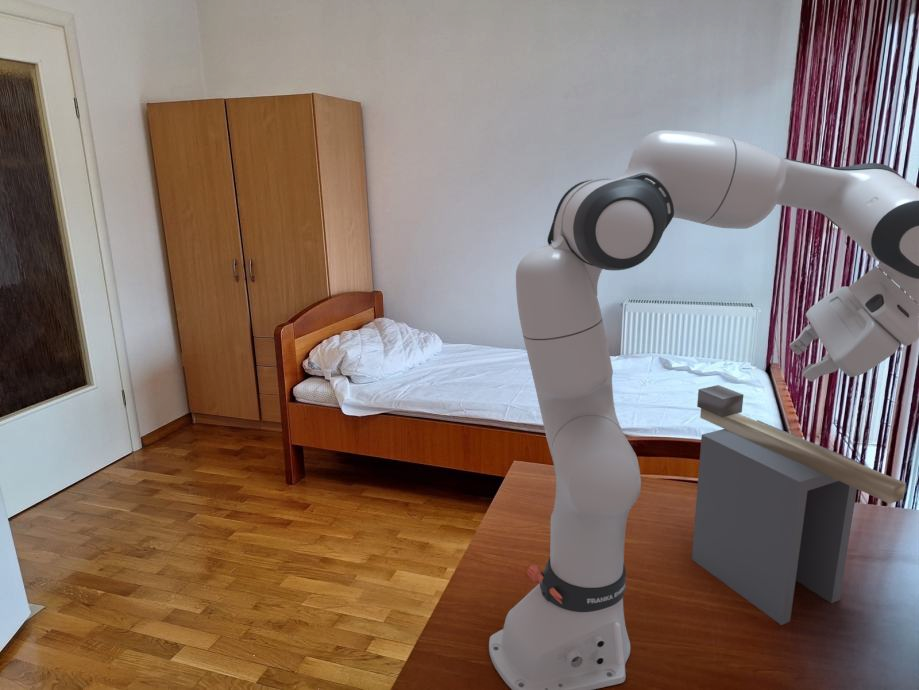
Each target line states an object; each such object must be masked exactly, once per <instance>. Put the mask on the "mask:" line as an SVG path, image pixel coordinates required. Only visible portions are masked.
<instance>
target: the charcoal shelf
mask: <svg viewBox="0 0 919 690" xmlns="http://www.w3.org/2000/svg"><path fill="white" fill-rule="evenodd" d="M756 421H758V422H760V423H762V424H765V425H767V426H770V427H772V428H775V429H777V430H779V431H782V432H784V433H787V434H789V435H791V436H794V437H796V438H799V439H801V440H803V441H806V442H808V443H811V444H813V445H815V446H818V447H820V448H823V449H825V450H827V451H830V452H832V453H835V454H837V455H839V456H842V457H844V458H847V459H849V460H852V461H854V462H856V463H859V464H861V465H862V462H860V461H858V460H855V459H853V458H850V457H847V456H846V455H843V454H841V453H838V452H835V451H833V450H831V449H829V448H826V447H824V446H821V445H819V444H818V443H814V442H812V441H809V440H807V439H805V438H802V437H800V436H797V435H795V434H792V433H790V432H788V431H785V430H783V429H780V428H777V427H775V426H773V425H770V424H769V423H766V422H763V421H761V420H756ZM700 439H701V440H700V452H699V465H698V476H697V477H698V478H697V487H696V501H695V502H696V503H695V511H694V512H695V513H694V529H693V540H692V549H691V550H692V551H691V560H692V561H693V562H695V563H696V564H697V565H699V566H700V567H701V568H702V569H704V570H705V571H707V572H708V573H709V574H711V575H712V576H713V577H715V578H716V579H718V580H719V581H720V582H722V584H725V585H726V586H728V588H730V589H732V590H733V591H734V592H735V593H737V594H738V595H740V596H741V597H742V598H744V600H746V601H748V602H749V603H750V604H752V606H755V607H756V608H757V609H758V610H760V611H761V612H762V613H764V614H765V615H767V616H768V617H769V618H771V619H772V620H774V621H775V622H777V623H778V624H779V625H780V626H783V625H785V624H787V623H790V622H791V617H792V610H793V603H794V595H795V587H796V582H797V583H799V584H800V585H803V586H804V587H805V588H807V589H808V590H810V591H812V592H813V593H815V594H816V595H818V596H819V597H820V598H822V599H823V600H826V601H827V602H829V603H830V604H834V603H835V602H839V601H840V597H841V592H842V585H843V579H844V573H845V568H846V567H845V566H846V559H847V554H848V546H849V542H850V535H851V529H852V523H853V515H854V509H855V505H856V496H857V490H858V489H856V488H854V487H852V486H849V485H847V484H845V483H843V482H841V481H838V480H836V479H834V478H832V477H830V476H827V475H825V474H823V473H821V472H819V471H816V470H814V469H812V468H810V467H808V466H805V465H803V464H801V463H799V462H797V461H794V460H792V459H790V458H788V457H786V456H783V455H781V454H779V453H777V452H774V451H772V450H770V449H768V448H766V447H763V446H761V445H759V444H757V443H755V442H752V441H750V440H748V439H746V438H744V437H741V436H739V435H737V434H735V433H733V432H730V431H728V430H726V429H724V428H722V429H718V430H714V431H711V432H707V433H703V434H701V437H700Z"/></svg>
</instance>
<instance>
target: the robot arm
mask: <svg viewBox="0 0 919 690" xmlns="http://www.w3.org/2000/svg"><path fill="white" fill-rule="evenodd" d="M557 204H558V205H557V206H556V209H555V213H554V216H553V220H552V223H551V227H550V230H549V232H548V236H547V245H544V246H541V247H538V248H536V249H534V250H533V251H530V252H529V253H528V254H526V255H525V256H524V257H523V258H522V259H521V260H520V261H519V263H518V265H517V267H516V271H515V289H516V291H515V292H516V301H517V310H518V317H519V322H520V326H521V327H520V328H521V331H522V333H521V334H522V337H523V341H524V345H525V350H526V354H527V358H528V361H529V362H528V363H529V366H530V371H531V375H532V379H533V383H534V387H535V392H536V396H537V401H538V405H539V409H540V410H539V411H540V415H541V420H542V423H543V428H544V432H545V437H546V441H547V444H548V448H549V453H550V455H551V459H552V463H553V469H554V474H555V496H554V497H555V498H554V506H553V510H552V512H551V515H550V538H549V539H550V544H549V545H550V547H549V549H550V551H549V552H550V553H549V555H550V556H549V558H548V561H547V563H546V565H545V567H544V569H543V570H541V568H540V567H539V565H537V564H531V565H530V566H529V567H528V569H527V572H526V573H527V575H528V577H529V578H531V579H532V581H533V582H534V583H538V584H537V585H536V586H535V587H533V588H532V589H531V590H530V591H529V592H528V593H527V594H526V595H525V596H524V597H523V598H522V599H521V600H520V601H519V602H517V603H516V604H515V605H514V607H512V608H511V609H510V610H509V611H508V612H507V615H506V617H505V621H504V625H503V628H502V629H501V630H500V629H499V630H498V631H496V632H495V633H493V634H492V635H490V636H489V641H488V652H489V656H490V660H491V662H492V665H493V667H494V668H495V670H496V671H497V673H498V675H499V676H500V677H501V678H502V680H503V681H504V683H505V684H506V685H507V686H508V687H509V688H510V689H511V690H596V689H597V690H598V689H601V688H605V687H611V686H615V685H619V684H622V683H624V682H625V681H626V664H627V661H628V659H629V657H630V654H631V642H630V639H629V638H630V637H629V634H628V631H627V627H626V621H625V614H624V613H625V612H624V596H625V593H626V586H627V585H626V584H627V583H626V582H627V579H626V578H627V574H626V572H627V571H626V565H625V563H624V560H625V559H624V558H625V539H626V528H627V527H626V526H627V521H628V517H629V513H630V510H631V508H632V507H633V506H634V505H635V504H636V502H637V500H638V499H639V497H640V494H641V490H642V489H641V488H642V477H641V470H640V465H639V461H638V457H637V453H636V452H635V451H634V449H633V447H632V445H631V444H630V442H629V441H628V439H627V437H626V436H625V435H626V434H625V432H624V431H623V430H622V427H621V425H620V422H619V420H618V417H617V414H616V408H615V402H614V392H613V391H614V390H613V374H614V371H613V370H614V369H613V365H612V361H611V360H612V359H611V355H610V350H609V345H608V342H607V341H608V340H607V336H606V330H605V326H604V321H603V316H602V311H601V307H600V302H599V299H598V284H599V278H600V275H601V273H602V271H603V270H605V271H624V270H628V269H631V268H634V267H636V266H638V265H640V264H641V263H643V262H644V261H646V260H647V259H648V258H649V257H650V256H651V255H652V254H653V252H654V251H655V249H656V248H657V246H658V245H659V243H660V241H661V239H662V238H663V237H662V236H663V234H664V232H665V231H666V229H667V227H668V226H669V225H670V223H671V222H672V220H673V218H675V219H681V220H685V221H689V222H694V223H696V224H701V225H706V226H710V227H713V228H722V229H734V230H739V229H745V230H746V229H749V228H752V227H754V226H756V225H758V224H759V223H761V222H762V221H763V220H764V219H766V218H767V217H769V215H770V214H771V213H772V212H773V210H774V209H775V207H776V205H779V206H784V207H791V208H796V209H801V210H805V211H806V210H807V211H814V212H818V213H820V214H822V215H823V217H825V218H826V219H827V220H828V221H830V222H831V223H832V224H834V226H836V227H837V228H838V229H840V230H841V231H843V232H844V233H845V234H846V235H847V236H848V237H850V238H851V240H853V241H854V242H855V243H856V244H857V245H858V246H859V247H860V248H861V249H862V250H863V251H865V252H866V253H867V254H868V255H869V256H870V257H871V258H873V259H874V260H875V261H877V262H878V264H877V265H875V266H874V267H873V268H871V269H870V270H869V271H867V272H866V273H865V274H864V275H862V276H861V277H859V278H858V279H857V280H856V281H855V282H853V283H852V284H850V285H849V286H845V285H844V286H841V287H838V288H836V289H835V290H834V291H832V292H830V293H829V294H827V295H826V296H824V297H823V298H821V299H820V300H818V301H816V302H815V304H813V305H812V306H810V307H809V309H808V310H807V311H806V313H805V316H806V318H807V320H808V321H809V324H808V325H807V326H805V327H804V328H803V330H802V331H801V332H800V334H799V335H798V337H797V338H796V339H794V340H793V341H792V342H790V343H789V348H790V349H791V351H792V352H794V354H795V355H796V356H797V355H798V356H799V355H801V354H802V353H804V352H805V351H807V350H808V346H809V345H810V344H811V343H812V342H814V340H817V339H819V340H820V342H821V343H822V345H823V347H824V348H825V350H826V351H827V354H826V355H824V356H823V357H822V360H820V361H818V362H816V363H814V364H812V363H811V362H810V363H809V364H807V365H806V366H805V367H804V368H802V369H801V372H802V375H803V377H804V378H805V379H807V381H809V382H814V381H816V380H817V379H818V378H820V377H821V376H825V375H829V374H831V373H835V372H836V371H838V370H841V371H842V372H843V374H845V375H847V376H848V377H849V378H853V377H857V376H861V375H863V374H865V373H867V372H869V371H871V370H872V369H874V368H875V367H877V366H878V365H879V364H881V363H882V362H884V361H885V360H887V359H888V358H890V357H891V356H893V355H894V354H895V353H896V352H897V351H898V350H899V348H900V345H903V346H905V347H908V346H910V345H912V344H913V343H915V342H916V341H917V340H918V339H919V187H917V186H916V185H914V184H912V183H911V182H910V181H908V180H906V179H905V178H904V177H903V176H902V175H901V174H899V173H898V172H897V171H896V170H895V169H894V168H892V167H891V166H888V165H886V164H884V163H883V164H882V163H878V162H868V163H866V162H865V163H861V164H860V163H859V164H854V165H853V164H852V165H848V166H838V167H837V166H836V167H835V166H829V165H822V164H818V163H817V164H816V163H812V162H806V161H800V160H796V159H792V158H791V159H790V158H785V157H782V156H780V155H778V154H776V153H773V152H772V151H769V150H767V149H764V148H763V147H760V146H757V145H755V144H751V143H749V142H746V141H742V140H739V139H735V138H731V137H727V136H722V135H718V134H711V133H707V132H698V131H689V130H679V129H678V130H673V129H663V130H660V129H659V130H656V131H654V132H651V133H649V134H647V135H645V137H643V138H642V139H641V141H640V142H639V143H638V144H637V146H636V147H635V149H634V150H633V152H632V154H631V157H630V159H629V163H628V167H627V168H626V170H625V171H624V173H623V174H622V175H621V176H619V177H617V178H596V179H589V180H584V181H581V182H580V181H579V182H578V183H577V184H575V185H573V186H572V187H570V188H569V189H568V190H567V191H566V192H565V193H564V195H563V196H562V197H561V198H560V200H559V202H558V203H557Z"/></svg>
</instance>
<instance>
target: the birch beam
mask: <svg viewBox="0 0 919 690" xmlns="http://www.w3.org/2000/svg"><path fill="white" fill-rule="evenodd" d="M743 403H744V394H743V393H741V392H737V391H735V390H732V389H730V388H728V387H725V386H722V385H719V384H718V385H712V386H708V387H703V388H699V389H698V391H697V404H696V407H697V408H699V409H700V414H699V415H700V416H699V417H700V419H702V420H705V421H706V422H709V423H710V424H712V425H715V426H718V427H719V428H722V429H726V430H728V431H730V432H733V433H735V434H737V435H739V436H741V437H744V438H746V439H748V440H750V441H752V442H755V443H757V444H759V445H761V446H763V447H766V448H768V449H770V450H772V451H774V452H777V453H779V454H781V455H783V456H786V457H788V458H790V459H792V460H794V461H797V462H799V463H801V464H803V465H805V466H808V467H810V468H812V469H814V470H816V471H819V472H821V473H823V474H825V475H827V476H830V477H832V478H834V479H836V480H838V481H841V482H843V483H845V484H847V485H849V486H852V487H854V488H856V489H857V490H858V491H861V492H863V493H865V494H867V495H870V496H872V497H874V498H876V499H878V500H879V501H883V502H884V503H887V504H893V503H897V502H899V501H902V500H904V497H905V492H906V488H907V487H906V486H907V482H904V481H902V480H899V479H897V478H895V477H893V476H889V475H887V474H885V473H882V472H880V471H878V470H875V469H874V468H870V467H868V466H866V465H863V464H862V463H861V464H859V463H856V462H854V461H852V460H849V459H847V458H844V457H842V456H839V455H837V454H835V453H832V452H830V451H827V450H825V449H823V448H820V447H818V446H815V445H813V444H811V443H808V442H806V441H803V440H801V439H799V438H796V437H794V436H791V435H789V434H787V433H784V432H782V431H779V430H777V429H775V428H772V427H770V426H767V425H765V424H762V423H760V422H758V421H757V420H755V419H752V418H750V417H747V416H746V415H743V414H742V412H743Z"/></svg>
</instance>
